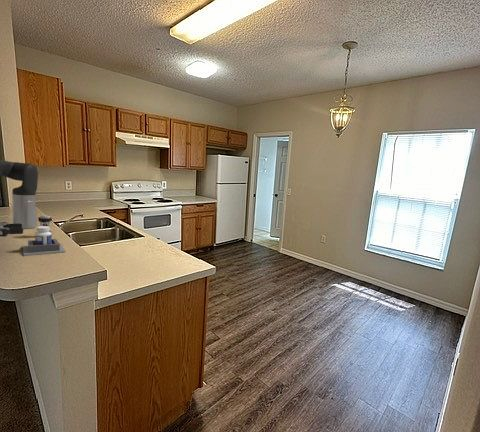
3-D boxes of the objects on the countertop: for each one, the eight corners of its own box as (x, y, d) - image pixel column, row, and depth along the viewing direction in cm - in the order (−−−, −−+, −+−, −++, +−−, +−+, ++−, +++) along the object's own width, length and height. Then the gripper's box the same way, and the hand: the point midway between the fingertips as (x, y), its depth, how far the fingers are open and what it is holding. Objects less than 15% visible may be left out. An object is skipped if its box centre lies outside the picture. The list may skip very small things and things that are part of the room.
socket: (22, 246, 106) (21, 239, 105) (60, 244, 114) (60, 237, 114) (23, 255, 96) (23, 248, 96) (65, 252, 105) (65, 245, 105)
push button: (34, 238, 119) (34, 216, 117) (34, 235, 123) (34, 215, 121) (52, 237, 123) (52, 216, 122) (51, 235, 127) (51, 214, 126)
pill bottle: (49, 246, 109) (49, 225, 107) (53, 249, 106) (53, 227, 104) (33, 247, 105) (33, 226, 103) (37, 251, 101) (37, 228, 100)
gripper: (-43, 223, 83) (23, 222, 94) (-38, 216, 93) (21, 215, 104) (-42, 246, 84) (23, 242, 95) (-37, 236, 94) (21, 233, 105)
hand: (22, 228), depth 100 cm, fingers open, 8 cm apart
